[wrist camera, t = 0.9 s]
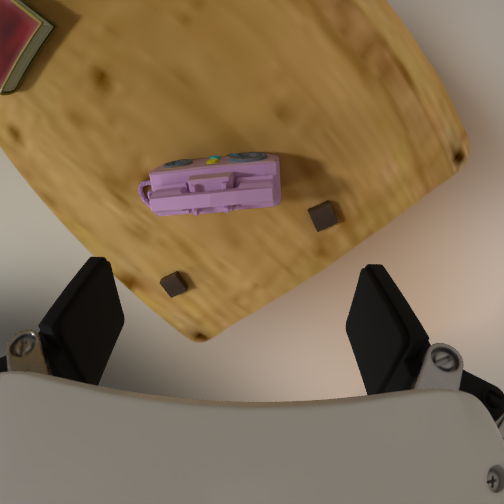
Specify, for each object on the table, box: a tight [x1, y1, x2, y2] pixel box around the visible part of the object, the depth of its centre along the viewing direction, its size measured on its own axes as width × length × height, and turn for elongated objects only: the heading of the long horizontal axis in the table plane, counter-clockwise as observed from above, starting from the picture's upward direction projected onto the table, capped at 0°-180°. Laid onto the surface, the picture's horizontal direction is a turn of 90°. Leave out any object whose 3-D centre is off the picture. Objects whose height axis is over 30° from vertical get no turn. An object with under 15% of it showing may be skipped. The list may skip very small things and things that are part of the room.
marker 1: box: [160, 271, 188, 298], centre depth 42 cm, size 3×3×1 cm
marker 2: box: [308, 201, 338, 232], centre depth 37 cm, size 3×3×1 cm
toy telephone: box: [138, 152, 281, 216], centre depth 30 cm, size 18×6×10 cm, turn 94°
